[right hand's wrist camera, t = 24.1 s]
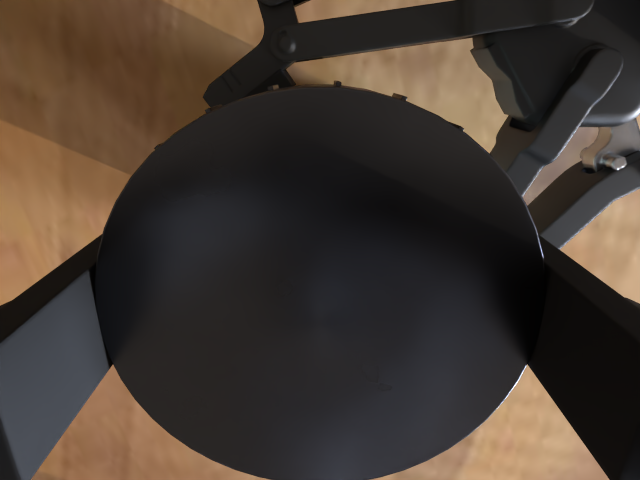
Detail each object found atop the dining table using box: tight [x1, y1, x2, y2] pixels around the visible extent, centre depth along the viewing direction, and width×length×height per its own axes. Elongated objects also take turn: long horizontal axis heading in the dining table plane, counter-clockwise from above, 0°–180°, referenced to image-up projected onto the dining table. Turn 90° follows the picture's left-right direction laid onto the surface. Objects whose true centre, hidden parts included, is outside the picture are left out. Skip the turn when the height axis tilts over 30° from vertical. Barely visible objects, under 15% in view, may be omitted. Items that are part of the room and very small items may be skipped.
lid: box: [95, 81, 546, 480], centre depth 11 cm, size 10×10×2 cm
